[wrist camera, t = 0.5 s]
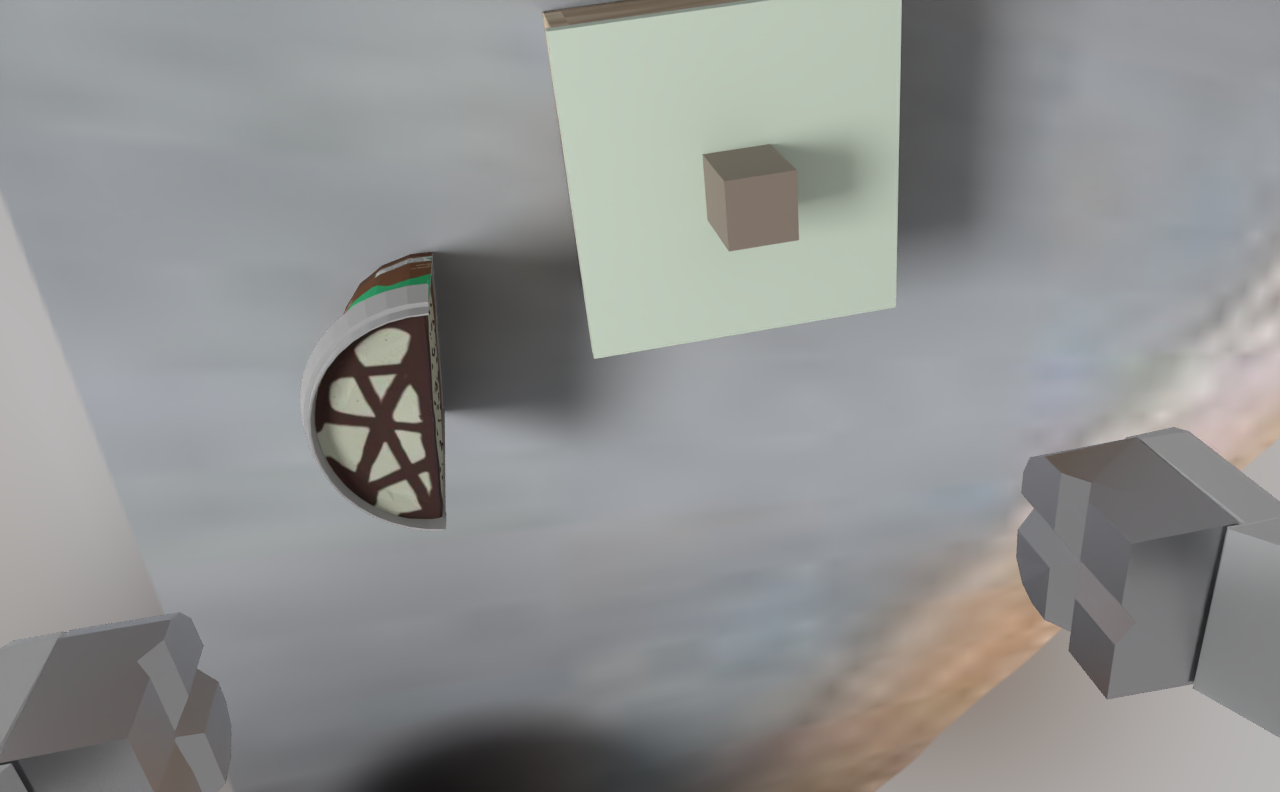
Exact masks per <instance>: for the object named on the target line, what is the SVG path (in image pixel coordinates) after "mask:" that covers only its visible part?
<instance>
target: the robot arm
mask: <svg viewBox="0 0 1280 792" xmlns="http://www.w3.org/2000/svg"><path fill="white" fill-rule="evenodd" d="M1021 493H1022V494H1023V496H1024V497H1025V498H1026V499H1027V500H1028V502H1029V503H1030V504H1031V505H1032V506H1033V508H1034V509H1033V510H1032V512H1031V513H1030V514H1029V516H1028V517H1027V518H1026V520H1025V521H1024V522H1023V523H1022V525H1021V526H1020V527H1019V529H1018V535H1017V555H1016V557H1017V562H1018V566H1019V571H1020V575H1021V580H1022V584H1023V586H1024V588H1025V590H1026V592H1027V594H1028V596H1029V598H1030V600H1031V602H1032V604H1033V605H1034V606H1035V608H1036V609H1037V610H1038V612H1039V613H1040V614H1041V616H1042V617H1043V618H1044V620H1046V621H1048V622H1051V623H1053V624H1055V625H1057V626H1059V627H1061V628H1064V629H1066V630H1068V631H1070V632H1071V635H1070V643H1069V652H1070V653H1071V654H1072V656H1073V657H1074V658H1075V660H1076V661H1077V662H1078V663H1079V664H1080V666H1081V667H1082V668H1083V670H1084V671H1085V672H1086V673H1087V675H1088V676H1089V677H1090V679H1091V680H1092V681H1093V682H1094V683H1095V685H1096V686H1097V687H1098V689H1099V690H1100V691H1101V693H1102V694H1103V695H1104V696H1105V697H1106V699H1112V698H1117V697H1123V696H1129V695H1134V694H1139V693H1145V692H1151V691H1157V690H1162V689H1168V688H1173V687H1179V686H1184V685H1190V684H1194V686H1193V689H1195V690H1197V691H1199V692H1200V693H1202V694H1204V695H1206V696H1208V697H1209V698H1211V699H1213V700H1214V701H1216V702H1218V703H1220V704H1221V705H1223V706H1225V707H1227V708H1229V709H1230V710H1232V711H1234V712H1236V713H1237V714H1239V715H1241V716H1243V717H1244V718H1246V719H1248V720H1250V721H1252V722H1253V723H1255V724H1257V725H1259V726H1260V727H1262V728H1264V729H1265V730H1267V731H1269V732H1271V733H1272V734H1275V735H1276V736H1278V737H1280V501H1278V500H1277V499H1276V498H1274V497H1273V496H1272V495H1271V494H1269V493H1268V492H1267V491H1265V490H1264V489H1263V488H1262V487H1260V486H1259V485H1258V484H1256V483H1255V482H1254V481H1253V480H1251V479H1250V478H1249V477H1247V476H1246V475H1245V474H1243V473H1242V472H1241V471H1240V470H1238V469H1237V468H1236V467H1234V466H1233V465H1232V464H1231V463H1229V462H1228V461H1227V460H1225V459H1224V458H1223V457H1222V456H1220V455H1219V454H1218V453H1216V452H1215V451H1214V450H1213V449H1211V448H1210V447H1209V446H1207V445H1206V444H1205V443H1203V442H1202V441H1201V440H1200V439H1198V438H1197V437H1196V436H1194V435H1193V434H1192V433H1191V432H1189V431H1186V430H1182V429H1179V428H1175V427H1172V428H1168V429H1163V430H1158V431H1154V432H1149V433H1144V434H1140V435H1135V436H1130V437H1126V438H1125V439H1124V440H1118V441H1113V442H1108V443H1103V444H1098V445H1092V446H1087V447H1082V448H1077V449H1071V450H1066V451H1061V452H1056V453H1051V454H1045V455H1040V456H1035V457H1030V459H1029V461H1028V463H1027V465H1026V467H1025V470H1024V472H1023V481H1022V490H1021ZM203 646H204V645H203V643H202V641H201V639H200V637H199V635H198V632H197V630H196V628H195V626H194V624H193V621H192V619H191V618H190V617H188V616H186V615H184V614H182V613H180V612H179V613H173V614H166V615H160V616H154V617H149V618H142V619H136V620H129V621H124V622H118V623H111V624H105V625H99V626H92V627H87V628H80V629H75V630H70V631H69V632H57V633H52V634H46V635H41V636H35V637H29V638H24V639H19V640H13V641H12V642H10V643H8V644H7V645H5V646H3V647H1V648H0V792H218V791H219V790H220V789H221V788H222V787H223V786H224V784H225V783H226V779H227V775H228V770H229V765H230V761H231V723H230V718H229V713H228V708H227V704H226V700H225V698H224V695H223V692H222V690H221V687H220V685H219V682H218V681H216V680H215V679H213V678H211V677H210V676H208V675H206V674H205V673H203V672H202V671H200V670H198V669H197V666H198V663H199V659H200V656H201V653H202V649H203Z"/></svg>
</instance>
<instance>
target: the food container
mask: <svg viewBox="0 0 1280 792" xmlns="http://www.w3.org/2000/svg"><path fill="white" fill-rule="evenodd" d="M300 403H301V416H302V421H303V426H304V430H305V434H306V438H307V442H308V446H309V449H310V451H311V453H312V455H313V458H314V460H315V462H316V464H317V465H318V467H319V468H320V470H321V471H322V473H323V474H324V476H325V477H326V479H327V480H328V481H329V482H330V484H331V485H332V486H333V487H334V488H335V489H336V490H337V491H338V492H339V493H340V494H341V495H342V496H343V497H344V498H345V499H346V500H348V501H349V502H350V503H352V504H353V505H354V506H355V507H357V508H358V509H360V510H362V511H364V512H365V513H367V514H369V515H371V516H372V517H375V518H377V519H380V520H382V521H385V522H387V523H390V524H393V525H397V526H401V527H405V528H409V529H418V530H427V531H446V506H445V411H444V397H443V384H442V371H441V357H440V344H439V331H438V317H437V304H436V291H435V277H434V264H433V252H428V253H420V254H411V255H408V256H405V257H403V258H400V259H398V260H395V261H393V262H390V263H388V264H385V265H383V266H381V267H380V268H379V269H377V270H376V271H375V272H374V273H373V274H371V275H370V276H369V277H368V278H367V279H365V280H364V281H363V282H362V283H361V284H360V285H359V287H358V288H357V290H356V292H355V293H354V295H353V297H352V298H351V300H350V302H349V303H348V305H347V307H346V309H345V312H344V314H343V315H342V316H341V317H340V318H339V319H338V320H337V321H336V322H334V323H333V324H332V325H331V326H330V327H329V329H328V330H327V331H326V332H325V334H324V335H323V336H322V337H321V339H320V340H319V341H318V343H317V344H316V346H315V348H314V350H313V352H312V353H311V355H310V357H309V359H308V362H307V365H306V368H305V371H304V374H303V377H302V385H301V393H300Z"/></svg>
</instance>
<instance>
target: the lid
mask: <svg viewBox="0 0 1280 792" xmlns="http://www.w3.org/2000/svg"><path fill="white" fill-rule="evenodd" d="M901 16H902V0H744V1H737V2H730V3H722V4H715V5H708V6H701V7H694V8H687V9H680V10H673V11H666V12H658V13H651V14H644V15H637V16H630V17H623V18H616V19H609V20H602V21H594V22H587V23H580V24H573V25H566V26H559V27H552V28H545V30H546V37H547V44H548V50H549V57H550V64H551V71H552V78H553V85H554V92H555V99H556V106H557V113H558V119H559V126H560V133H561V140H562V147H563V154H564V161H565V168H566V175H567V182H568V188H569V195H570V202H571V209H572V216H573V223H574V230H575V237H576V244H577V251H578V257H579V264H580V271H581V278H582V285H583V292H584V299H585V306H586V313H587V320H588V326H589V333H590V340H591V347H592V353H593V356H594V359H597V358H603V357H609V356H614V355H620V354H626V353H632V352H638V351H644V350H649V349H655V348H661V347H667V346H673V345H679V344H684V343H690V342H696V341H702V340H708V339H714V338H719V337H725V336H731V335H737V334H743V333H749V332H754V331H760V330H766V329H772V328H778V327H784V326H789V325H795V324H801V323H807V322H813V321H819V320H824V319H830V318H836V317H842V316H848V315H854V314H859V313H865V312H871V311H877V310H883V309H889V308H894V307H896V275H897V223H898V171H899V119H900V68H901Z"/></svg>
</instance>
